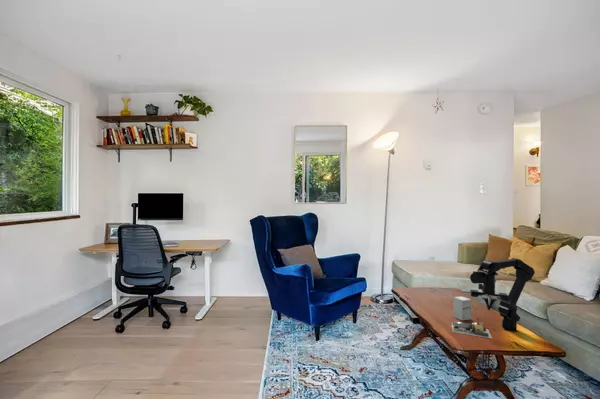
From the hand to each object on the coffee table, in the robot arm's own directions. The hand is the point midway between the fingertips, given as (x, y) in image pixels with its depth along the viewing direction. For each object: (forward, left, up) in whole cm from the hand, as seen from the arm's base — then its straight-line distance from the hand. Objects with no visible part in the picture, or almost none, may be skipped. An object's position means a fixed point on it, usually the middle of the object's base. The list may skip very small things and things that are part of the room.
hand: (488, 309), depth 174 cm
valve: (+6, +5, -12) cm, 14 cm away
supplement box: (+12, -15, -12) cm, 23 cm away
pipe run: (+9, +5, -12) cm, 16 cm away
